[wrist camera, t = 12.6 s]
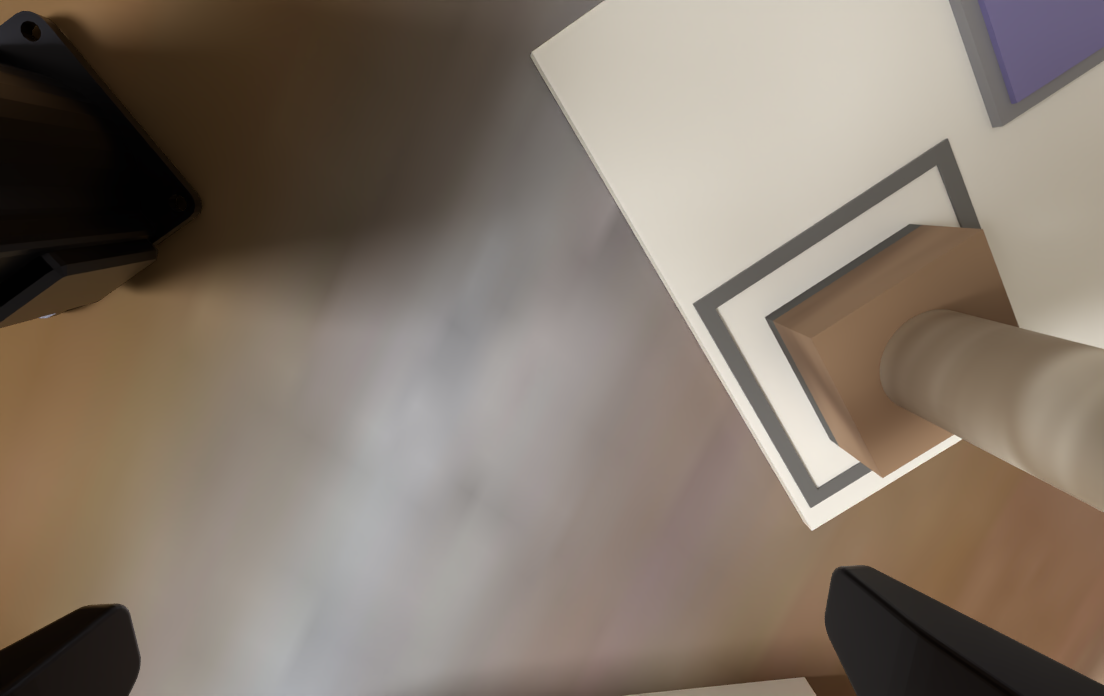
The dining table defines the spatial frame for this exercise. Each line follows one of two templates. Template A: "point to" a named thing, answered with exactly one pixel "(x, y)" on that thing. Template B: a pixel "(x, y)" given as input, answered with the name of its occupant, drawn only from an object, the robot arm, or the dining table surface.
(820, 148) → the stamping board
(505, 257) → the dining table surface
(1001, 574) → the dining table surface
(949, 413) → the stamp
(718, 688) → the white box
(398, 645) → the dining table surface
